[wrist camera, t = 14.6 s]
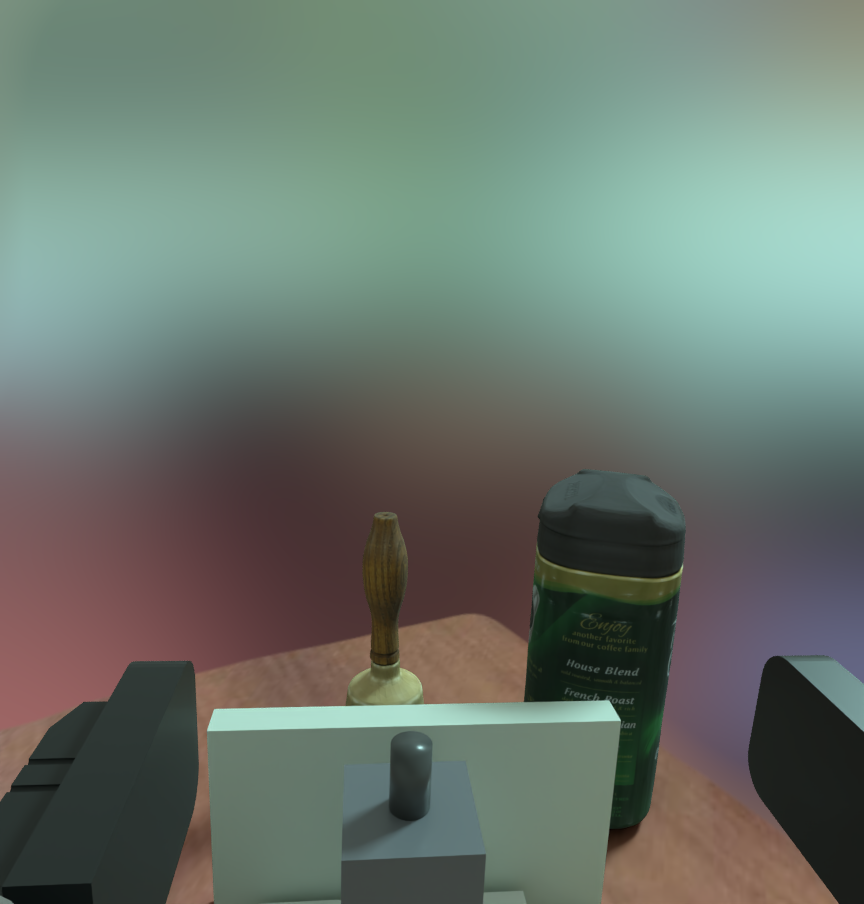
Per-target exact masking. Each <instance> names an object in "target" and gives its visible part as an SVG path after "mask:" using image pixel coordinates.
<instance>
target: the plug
mask: <svg viewBox="0 0 864 904" xmlns="http://www.w3.org/2000/svg"><path fill="white" fill-rule="evenodd" d="M432 750H433V743H432V740H431V739H430V738H429V737H428V736H427V735H425V734H423V733H421V732H417V731H406V732H402V733H399V734H397V735H396V736H394V737H393V739H392V740H391V748H390V763H378V764H347V765H344V789H343V822H342V855H341V904H483V895H484V879H485V864H486V851H485V847H484V842H483V838H482V833H481V829H480V824H479V819H478V815H477V810H476V806H475V801H474V797H473V792H472V788H471V783H470V779H469V774H468V769H467V765H466V761H440V762H432Z"/></svg>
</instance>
